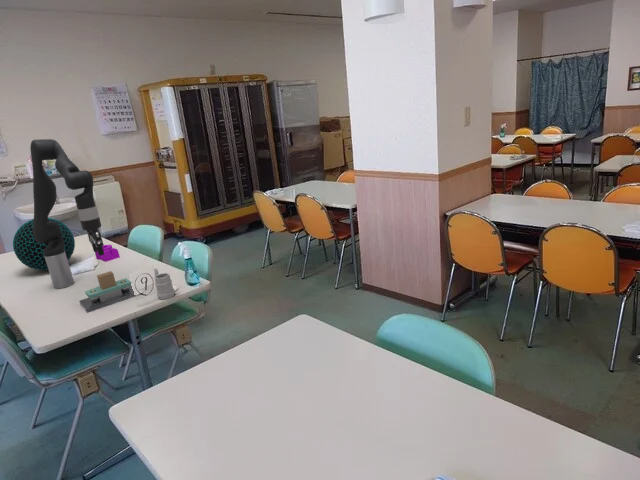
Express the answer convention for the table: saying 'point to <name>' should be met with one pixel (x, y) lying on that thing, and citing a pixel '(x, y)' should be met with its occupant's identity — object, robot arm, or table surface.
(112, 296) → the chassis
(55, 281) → the robot arm
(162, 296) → the mug
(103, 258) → the tape dispenser
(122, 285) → the board
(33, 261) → the decorative sphere
